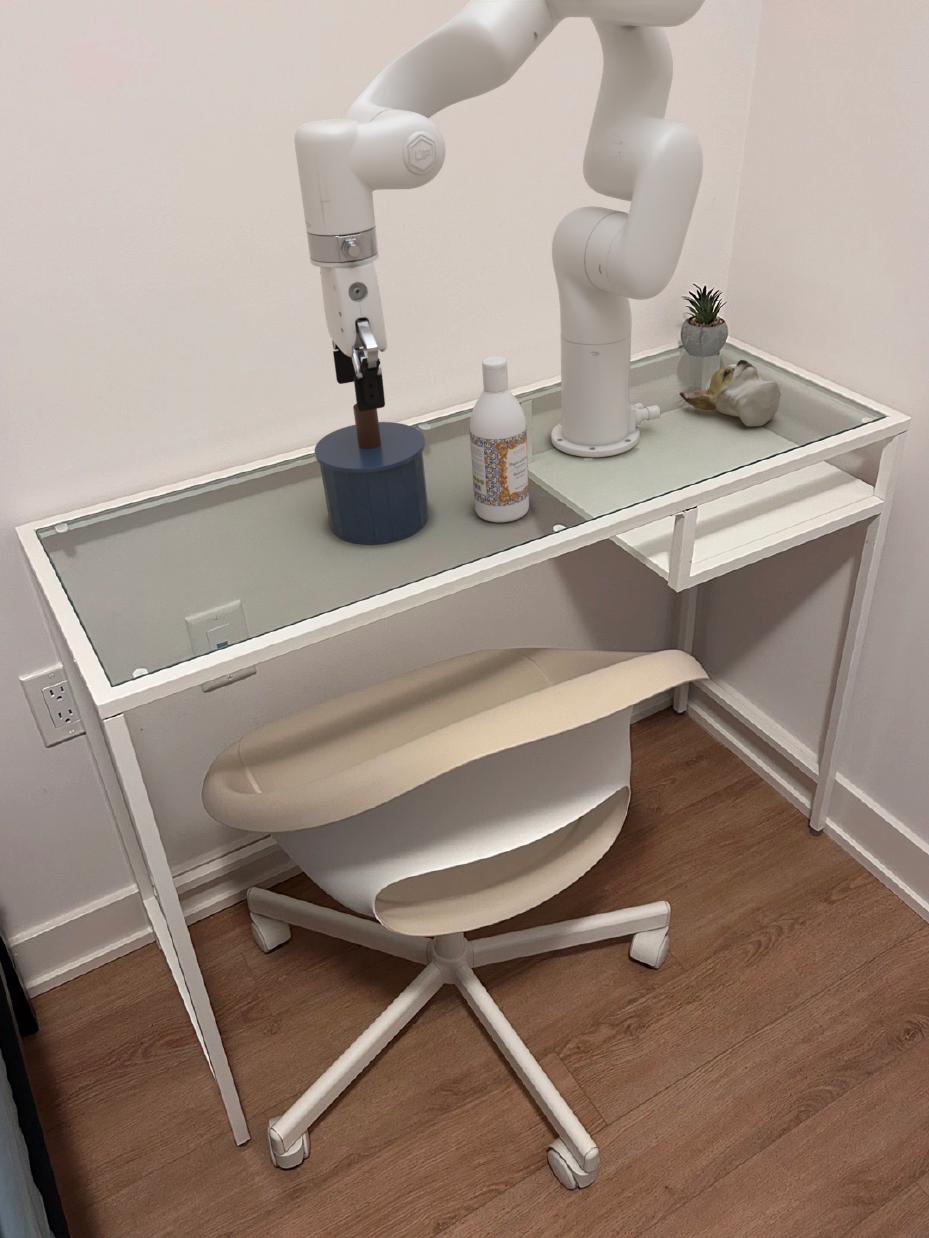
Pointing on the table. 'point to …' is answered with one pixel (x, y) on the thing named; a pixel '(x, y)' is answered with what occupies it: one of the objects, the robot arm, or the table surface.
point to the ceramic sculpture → (738, 394)
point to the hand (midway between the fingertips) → (360, 394)
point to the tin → (377, 503)
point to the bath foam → (499, 448)
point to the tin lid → (369, 445)
